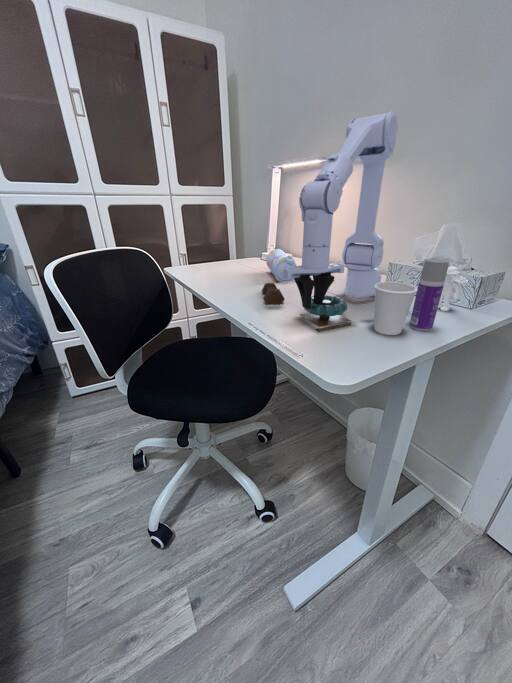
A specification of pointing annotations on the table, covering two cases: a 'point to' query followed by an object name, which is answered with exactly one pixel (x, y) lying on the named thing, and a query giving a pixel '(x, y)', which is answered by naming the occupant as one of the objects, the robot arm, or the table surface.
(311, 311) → the ring
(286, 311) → the table surface
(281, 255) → the pencil case
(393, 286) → the dixie cup
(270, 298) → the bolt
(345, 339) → the table surface
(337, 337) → the table surface
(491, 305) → the table surface
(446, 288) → the hat wearing toy figure
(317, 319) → the post
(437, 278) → the container
